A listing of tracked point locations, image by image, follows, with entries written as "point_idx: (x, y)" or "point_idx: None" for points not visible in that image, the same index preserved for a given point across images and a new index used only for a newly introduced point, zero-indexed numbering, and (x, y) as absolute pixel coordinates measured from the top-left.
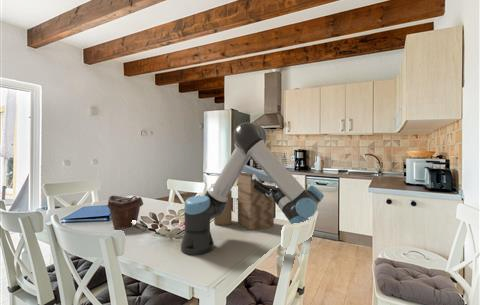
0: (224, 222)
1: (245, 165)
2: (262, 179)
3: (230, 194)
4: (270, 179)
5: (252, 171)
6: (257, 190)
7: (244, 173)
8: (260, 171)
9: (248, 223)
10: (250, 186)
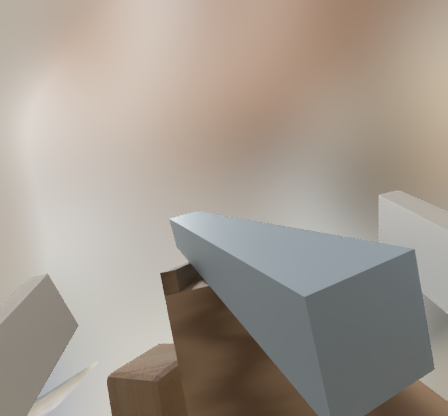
0: None
1: (195, 215)
2: (239, 315)
3: (163, 390)
4: (303, 337)
5: (192, 242)
6: (263, 409)
7: (183, 264)
8: (236, 226)
9: None
10: (182, 379)
